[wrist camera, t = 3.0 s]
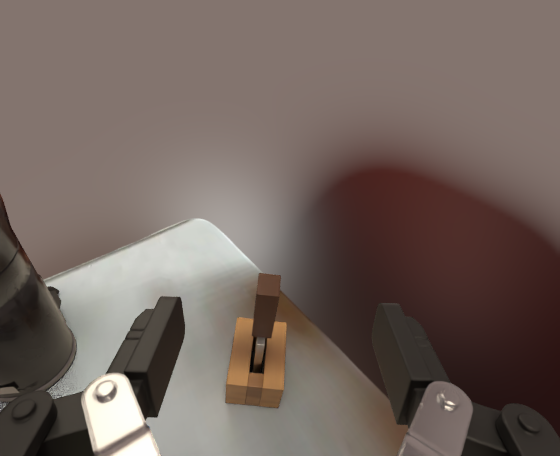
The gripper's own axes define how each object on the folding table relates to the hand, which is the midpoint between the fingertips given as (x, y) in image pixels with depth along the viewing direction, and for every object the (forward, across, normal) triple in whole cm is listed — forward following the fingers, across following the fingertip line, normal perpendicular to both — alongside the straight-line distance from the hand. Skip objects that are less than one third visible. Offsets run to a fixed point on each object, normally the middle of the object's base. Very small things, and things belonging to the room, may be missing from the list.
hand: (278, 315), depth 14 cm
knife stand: (+17, +2, +25) cm, 31 cm away
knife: (+17, +2, +25) cm, 31 cm away
